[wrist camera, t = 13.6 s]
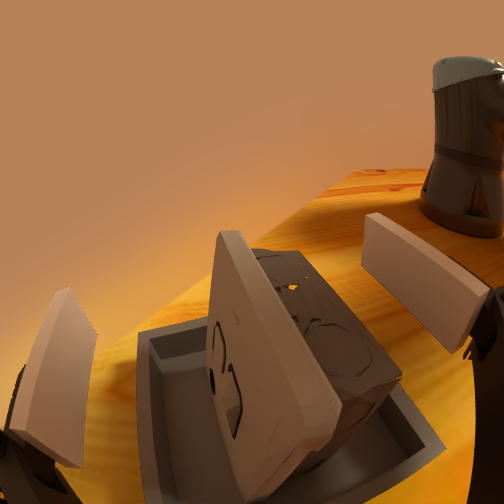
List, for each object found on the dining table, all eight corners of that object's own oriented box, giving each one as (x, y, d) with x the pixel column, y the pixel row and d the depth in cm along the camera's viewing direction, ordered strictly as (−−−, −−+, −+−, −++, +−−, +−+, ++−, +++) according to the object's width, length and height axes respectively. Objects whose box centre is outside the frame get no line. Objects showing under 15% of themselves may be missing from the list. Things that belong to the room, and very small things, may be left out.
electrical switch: (205, 367, 16) (178, 231, 11) (283, 350, 17) (291, 215, 13) (244, 507, 8) (215, 458, 4) (347, 474, 9) (442, 366, 5)
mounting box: (318, 315, 20) (320, 284, 18) (421, 466, 8) (446, 448, 7) (154, 360, 18) (138, 332, 16) (181, 548, 6) (155, 549, 5)
